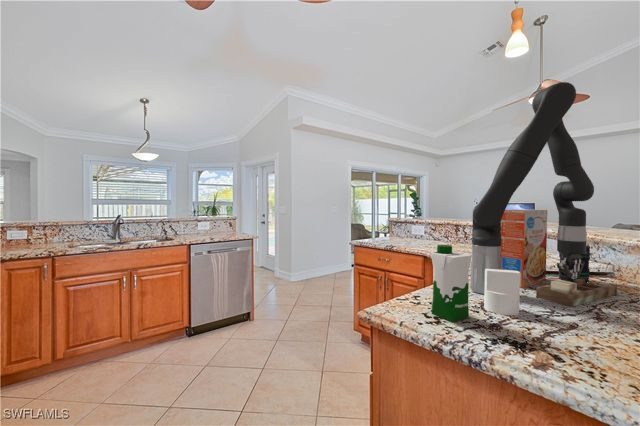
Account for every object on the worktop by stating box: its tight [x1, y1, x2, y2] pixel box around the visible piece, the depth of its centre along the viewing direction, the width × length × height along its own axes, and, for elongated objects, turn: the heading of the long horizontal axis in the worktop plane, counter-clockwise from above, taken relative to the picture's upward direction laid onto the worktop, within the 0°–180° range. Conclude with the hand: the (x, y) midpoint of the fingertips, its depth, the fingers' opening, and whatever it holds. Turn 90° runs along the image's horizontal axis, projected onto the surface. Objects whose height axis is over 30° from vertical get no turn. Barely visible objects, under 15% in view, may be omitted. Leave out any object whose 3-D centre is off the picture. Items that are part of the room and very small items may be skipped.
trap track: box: [535, 278, 618, 308], centre depth 99 cm, size 30×10×4 cm, turn 114°
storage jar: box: [558, 245, 591, 283], centre depth 120 cm, size 10×10×15 cm
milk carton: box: [430, 244, 472, 323], centre depth 81 cm, size 9×9×20 cm
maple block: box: [550, 279, 577, 294], centre depth 95 cm, size 5×5×4 cm
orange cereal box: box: [501, 209, 548, 290], centre depth 118 cm, size 23×8×30 cm, turn 124°
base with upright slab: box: [483, 269, 521, 316], centre depth 86 cm, size 9×9×12 cm
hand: (570, 289), depth 98 cm, fingers closed
